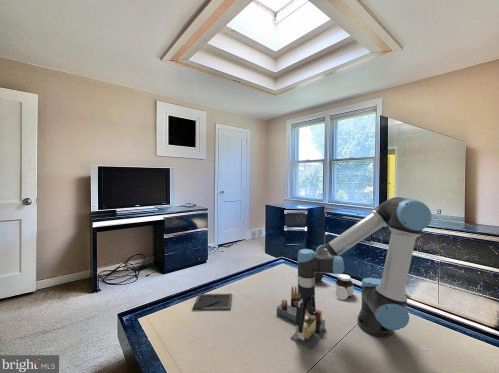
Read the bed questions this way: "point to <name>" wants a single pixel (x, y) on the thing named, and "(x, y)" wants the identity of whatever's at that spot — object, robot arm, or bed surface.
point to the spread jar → (344, 287)
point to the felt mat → (307, 340)
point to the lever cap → (308, 326)
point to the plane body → (290, 315)
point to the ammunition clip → (295, 297)
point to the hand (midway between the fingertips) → (305, 333)
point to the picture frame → (213, 302)
